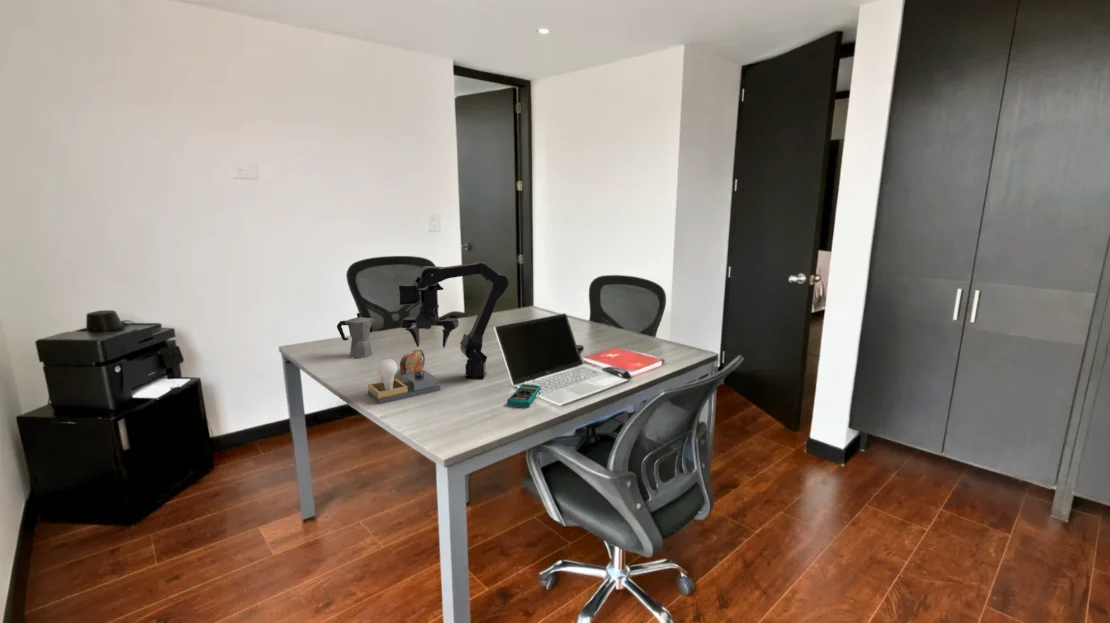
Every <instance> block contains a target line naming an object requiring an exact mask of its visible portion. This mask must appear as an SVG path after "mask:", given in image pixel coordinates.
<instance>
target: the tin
mask: <svg viewBox="0 0 1110 623" xmlns="http://www.w3.org/2000/svg"><path fill="white" fill-rule="evenodd" d="M425 362H426V361H425V354H424V351H423V350H422V349H413V350H412V351H410V352H408V353H406V354H404V355H403V356H402V357H401V358H400V362H399V370H400V371H399V372H400V375H401V376H402V374H407V373H413V372H415V371H423V370H424V366H425Z"/></svg>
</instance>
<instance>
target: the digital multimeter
mask: <svg viewBox="0 0 1110 623" xmlns="http://www.w3.org/2000/svg"><path fill="white" fill-rule="evenodd" d="M540 390H541V391H542V386H540V385H537V384H536V385H535V384H526V383H525V384H524V383H522V384H520V385H519V387H518V388H517V389H516V390H515V392H513V393H512V394H511V396H509V397H508V398H507V401H506V402H507V406H509V405H511V406H510V407H514V406H517V407H516V408H530V407H531V405H533V404H532V403H533V402H534V401H535V400H536V399H537V397H536V395H537V393H538V392H539V391H540Z"/></svg>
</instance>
